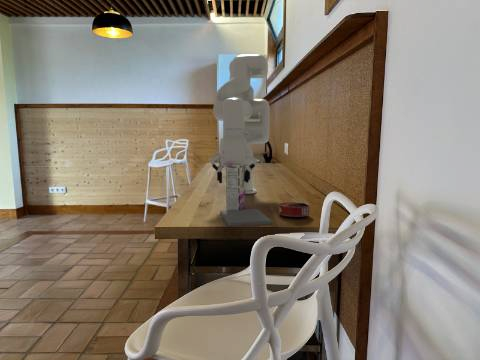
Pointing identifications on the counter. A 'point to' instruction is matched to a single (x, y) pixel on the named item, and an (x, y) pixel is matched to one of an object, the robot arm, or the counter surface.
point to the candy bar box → (235, 187)
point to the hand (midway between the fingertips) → (233, 182)
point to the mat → (244, 217)
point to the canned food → (294, 208)
